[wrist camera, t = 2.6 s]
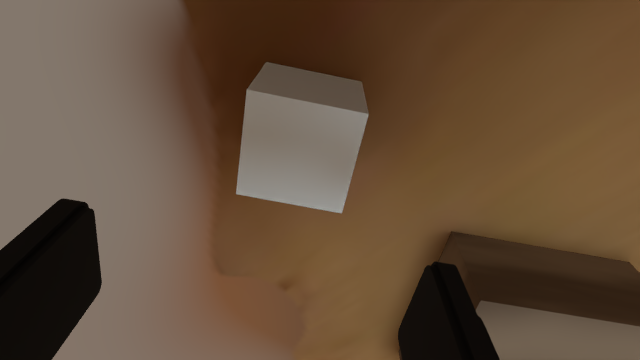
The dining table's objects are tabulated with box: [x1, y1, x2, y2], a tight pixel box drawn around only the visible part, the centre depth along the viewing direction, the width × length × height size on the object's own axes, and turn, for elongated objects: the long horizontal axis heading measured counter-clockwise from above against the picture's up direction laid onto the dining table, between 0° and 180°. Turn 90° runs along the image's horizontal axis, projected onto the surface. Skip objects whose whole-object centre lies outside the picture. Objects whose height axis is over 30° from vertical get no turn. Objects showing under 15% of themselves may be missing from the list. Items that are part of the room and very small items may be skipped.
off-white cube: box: [236, 62, 369, 213], centre depth 19 cm, size 5×5×5 cm
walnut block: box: [399, 232, 640, 360], centre depth 25 cm, size 12×12×6 cm
